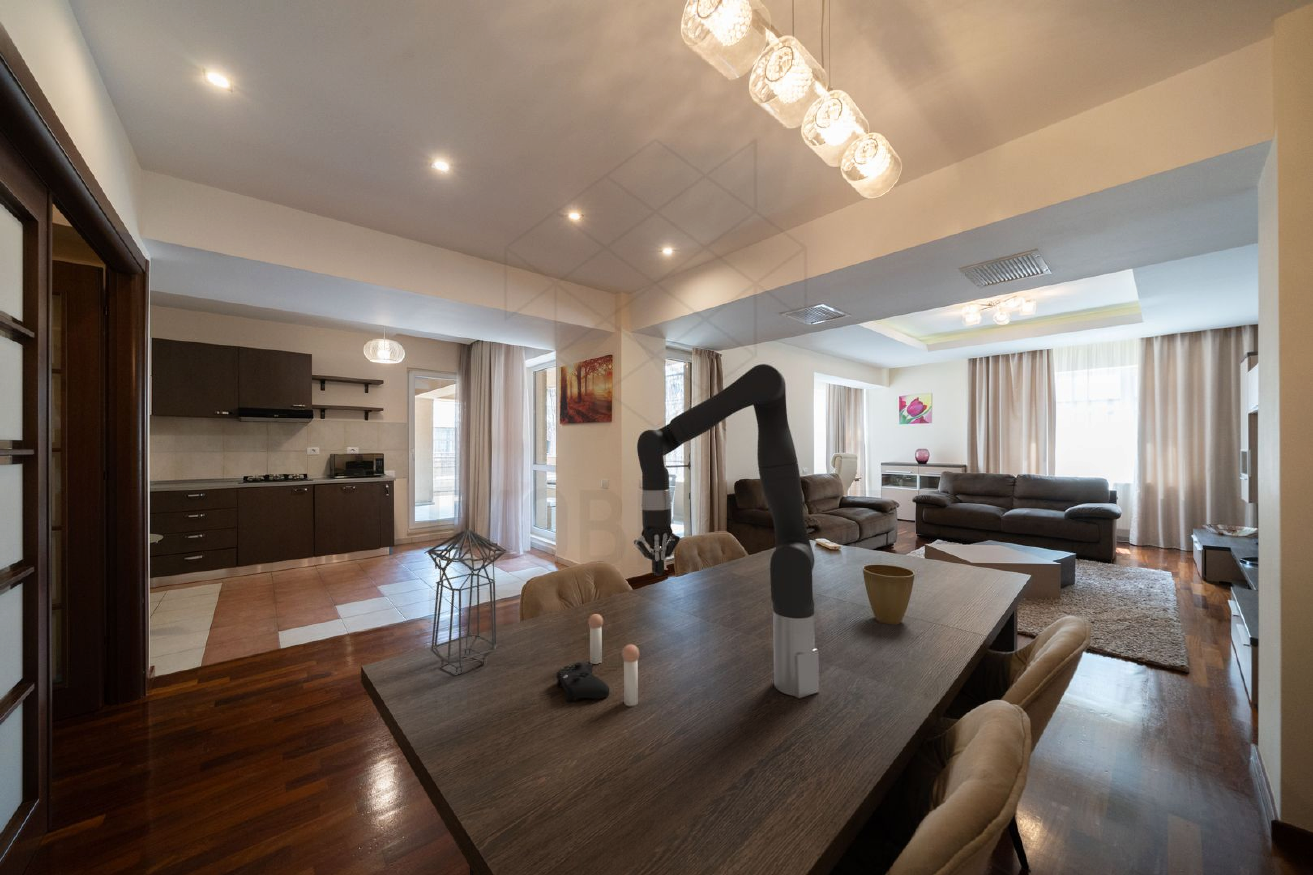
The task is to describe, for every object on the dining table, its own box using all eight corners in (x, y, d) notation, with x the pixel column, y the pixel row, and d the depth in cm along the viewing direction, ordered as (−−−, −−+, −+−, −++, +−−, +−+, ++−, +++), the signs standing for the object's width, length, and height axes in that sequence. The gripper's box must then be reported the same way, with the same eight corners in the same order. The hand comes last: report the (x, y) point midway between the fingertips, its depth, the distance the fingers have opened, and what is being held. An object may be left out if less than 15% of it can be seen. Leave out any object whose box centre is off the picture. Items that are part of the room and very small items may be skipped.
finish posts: (642, 704, 103) (642, 646, 103) (626, 708, 101) (626, 650, 102) (600, 657, 126) (599, 610, 126) (586, 661, 124) (586, 613, 124)
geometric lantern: (475, 648, 133) (478, 523, 134) (507, 665, 123) (510, 530, 124) (418, 667, 121) (421, 530, 122) (448, 688, 111) (452, 538, 112)
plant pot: (866, 626, 146) (865, 574, 146) (860, 610, 160) (859, 562, 160) (921, 631, 141) (919, 577, 142) (910, 614, 156) (908, 565, 156)
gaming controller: (614, 678, 106) (571, 679, 102) (609, 706, 106) (566, 709, 101) (593, 653, 119) (554, 654, 114) (588, 678, 118) (549, 680, 114)
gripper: (640, 510, 116) (642, 581, 116) (685, 506, 123) (687, 573, 122) (627, 507, 123) (628, 575, 123) (670, 503, 129) (672, 567, 129)
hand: (658, 574), depth 122 cm, fingers closed
